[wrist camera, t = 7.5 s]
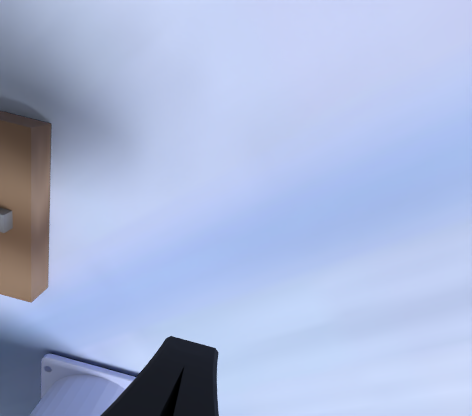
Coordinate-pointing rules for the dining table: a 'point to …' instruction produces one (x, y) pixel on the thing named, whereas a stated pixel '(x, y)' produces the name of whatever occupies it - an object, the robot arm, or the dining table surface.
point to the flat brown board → (24, 206)
